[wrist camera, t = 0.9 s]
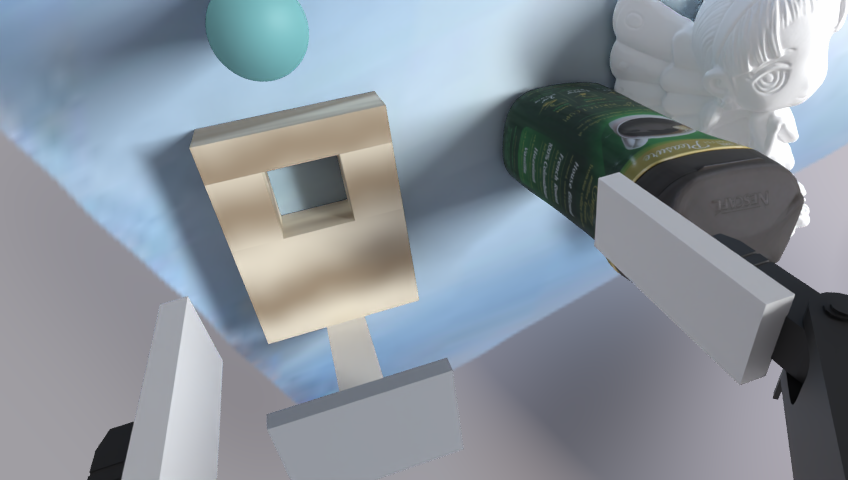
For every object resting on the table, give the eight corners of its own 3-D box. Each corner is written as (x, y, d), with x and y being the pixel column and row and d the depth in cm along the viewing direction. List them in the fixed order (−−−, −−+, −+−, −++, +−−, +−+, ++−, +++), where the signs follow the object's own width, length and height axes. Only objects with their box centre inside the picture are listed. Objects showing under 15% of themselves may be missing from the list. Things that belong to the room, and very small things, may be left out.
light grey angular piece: (261, 262, 39) (267, 429, 26) (386, 229, 41) (452, 370, 28) (286, 330, 43) (302, 505, 30) (400, 297, 44) (463, 449, 31)
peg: (213, -34, 29) (189, -15, 17) (276, -45, 30) (294, -32, 18) (234, 32, 31) (225, 90, 19) (293, 21, 31) (318, 71, 20)
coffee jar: (495, 184, 42) (639, 329, 26) (500, 86, 37) (674, 190, 22) (600, 168, 44) (788, 293, 28) (615, 74, 40) (845, 161, 24)
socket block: (194, 129, 33) (189, 148, 30) (374, 91, 35) (385, 105, 32) (267, 315, 42) (268, 344, 39) (407, 276, 44) (419, 300, 41)
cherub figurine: (695, 279, 38) (737, 11, 26) (604, 194, 48) (601, -33, 35) (847, 216, 39) (961, -74, 26) (727, 145, 49) (769, -94, 36)
